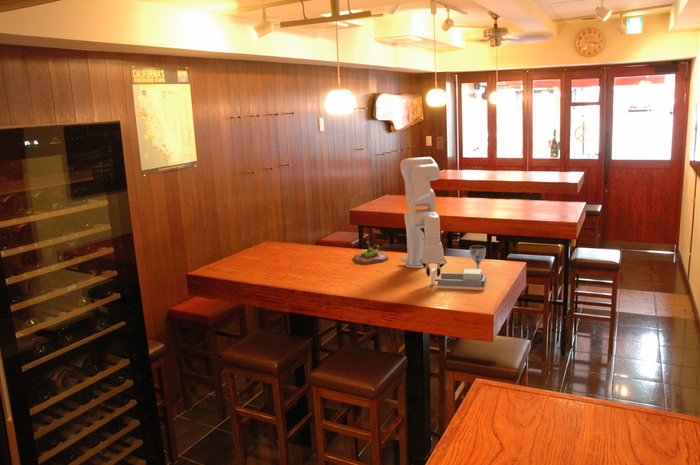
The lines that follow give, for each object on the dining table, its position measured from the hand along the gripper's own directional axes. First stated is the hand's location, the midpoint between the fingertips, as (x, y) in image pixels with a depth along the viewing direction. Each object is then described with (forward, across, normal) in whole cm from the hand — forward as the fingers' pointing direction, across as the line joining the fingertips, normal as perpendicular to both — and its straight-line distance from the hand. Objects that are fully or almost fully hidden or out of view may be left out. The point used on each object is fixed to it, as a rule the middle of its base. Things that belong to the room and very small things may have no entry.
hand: (433, 275), depth 281 cm
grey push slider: (+3, +11, 0) cm, 12 cm away
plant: (+5, -45, +42) cm, 62 cm away
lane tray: (+4, +14, 0) cm, 15 cm away
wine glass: (+5, +20, +17) cm, 27 cm away
